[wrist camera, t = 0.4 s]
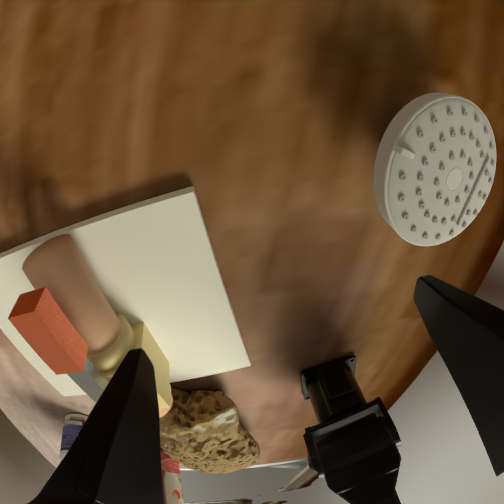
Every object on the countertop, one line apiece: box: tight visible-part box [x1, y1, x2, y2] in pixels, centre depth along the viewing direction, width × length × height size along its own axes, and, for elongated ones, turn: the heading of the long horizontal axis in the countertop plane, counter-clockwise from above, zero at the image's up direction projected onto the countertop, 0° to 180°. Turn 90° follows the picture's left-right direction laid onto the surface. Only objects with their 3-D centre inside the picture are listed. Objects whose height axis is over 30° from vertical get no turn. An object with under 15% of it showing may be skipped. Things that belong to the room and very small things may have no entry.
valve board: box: [0, 186, 251, 418], centre depth 22 cm, size 18×22×6 cm
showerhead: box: [373, 92, 496, 246], centre depth 17 cm, size 9×7×10 cm
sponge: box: [160, 388, 260, 474], centre depth 33 cm, size 13×8×20 cm
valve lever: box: [8, 287, 109, 403], centre depth 17 cm, size 13×3×2 cm, turn 11°
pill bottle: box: [60, 414, 88, 460], centre depth 29 cm, size 5×5×9 cm
